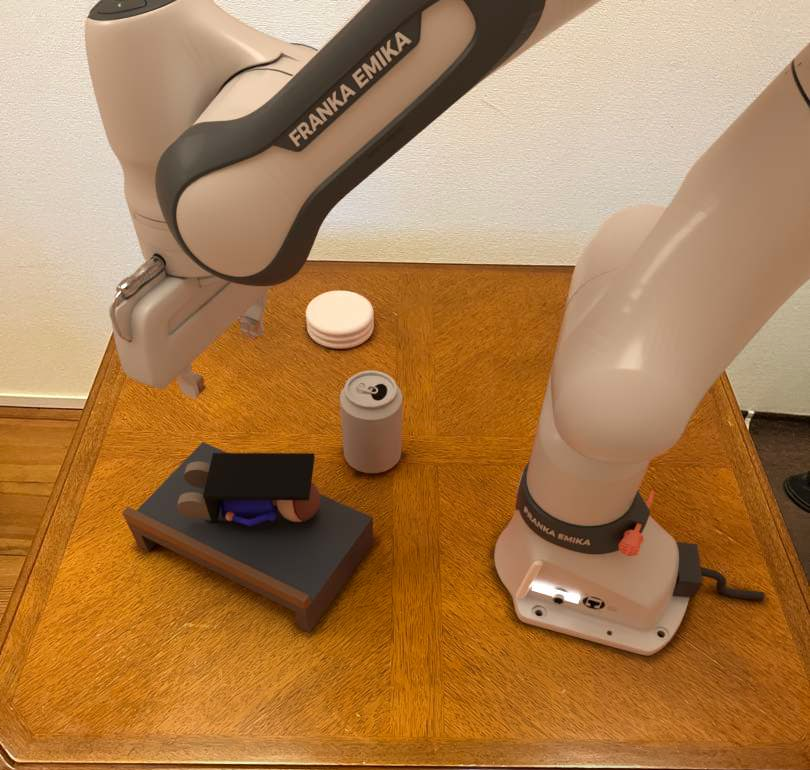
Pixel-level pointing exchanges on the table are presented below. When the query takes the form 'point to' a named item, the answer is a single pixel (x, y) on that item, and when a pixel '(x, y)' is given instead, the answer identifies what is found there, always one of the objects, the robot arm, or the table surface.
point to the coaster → (340, 319)
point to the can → (371, 421)
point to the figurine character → (251, 488)
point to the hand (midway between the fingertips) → (224, 362)
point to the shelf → (260, 545)
